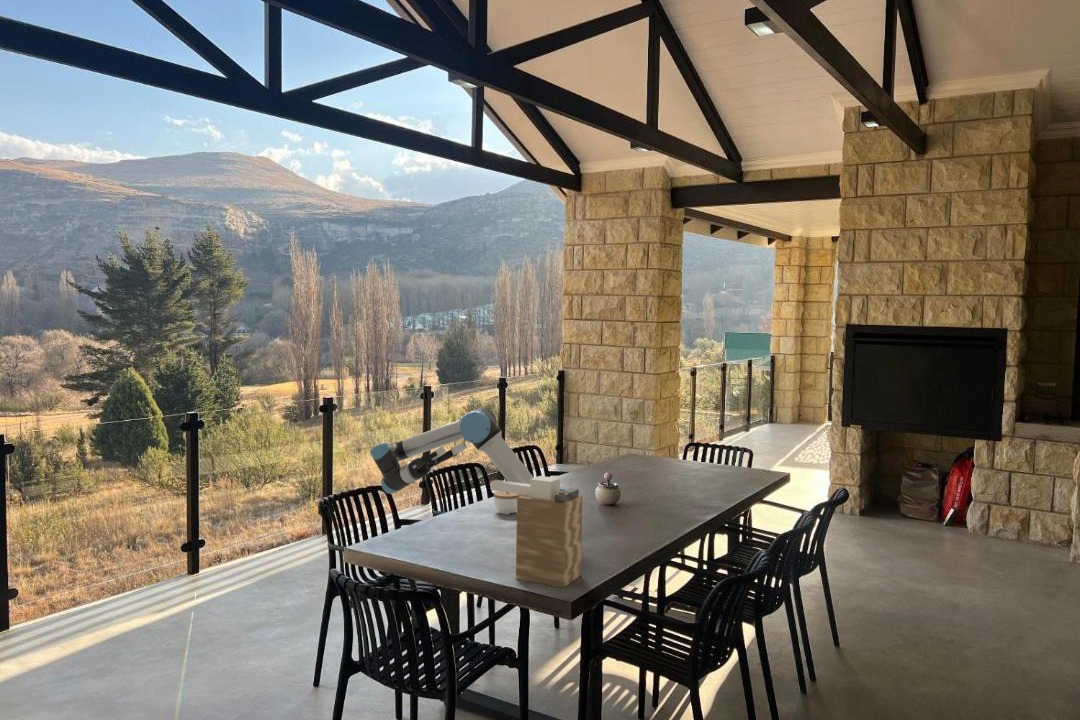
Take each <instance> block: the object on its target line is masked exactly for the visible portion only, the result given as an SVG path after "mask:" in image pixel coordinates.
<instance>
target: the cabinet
mask: <svg viewBox="0 0 1080 720" xmlns="http://www.w3.org/2000/svg"><path fill="white" fill-rule="evenodd" d="M565 490H566V491H561V492H559V493H558V494H556V495H555V498H553V499H544V498H537V497H530V495H522V496H520V497H517V510H516V543H515V544H516V547H515V548H516V551H515V553H516V556H515V557H516V558H515V579H516V578H517V579H518V580H521V579H522V581H527V582H531V581H532V583H536V582H537V584H541V583H542V585H546V584H547V586H551V585H552V586H553V587H556V586H558V587H557V588H561V587H562V589H563V588H565V587H566V586H568V585H569V584H571V583H572V582H574V581H576V580H577V579H578V578H580V577H582V536H583V535H582V533H583V530H582V529H583V528H582V527H583V525H582V524H583V496H582V495H579V488H572V487H571V488H568V489H565ZM579 576H580V577H579ZM576 578H577V579H576ZM570 582H571V583H570Z"/></svg>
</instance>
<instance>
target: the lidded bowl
mask: <svg viewBox="0 0 1080 720" xmlns="http://www.w3.org/2000/svg"><path fill="white" fill-rule="evenodd" d="M517 497H520V496H519V494H517V493H510V492H503V491H495V492H494V493H493V504H494V507H495V509H496V510H497V511H498V512H500V513H502V514H501V515H511V514H510V513H514V512H515V513H516V512H517ZM500 513H499V514H500ZM515 513H514V514H515Z"/></svg>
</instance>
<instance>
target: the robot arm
mask: <svg viewBox="0 0 1080 720" xmlns="http://www.w3.org/2000/svg"><path fill="white" fill-rule="evenodd" d="M502 434H503V433H502V429H501V428H500V426H498V424H497V417H496V415H495V413H494V412H493V411H492V410H491V409H489V408H486V407H477V408H475V409H473V410H470V411H468V412H467V413H466V414H465V415H462V416H460V419H458V420H455V421H453V422H450V423H447V424H444V425H441V426H438V427H435V428H433V429H430V430H428V431H425V432H422V433H418V434H416V435H413V436H411V437H409V438H406V439H402V440H400V441H397V442H393V443H391V444H390V445H389V444H388V442H386V441H383V442H381V443H379V444H377V445H375V446H374V447H372V448H371V449H370V450H369V454H370V456H371V457H372V460H373V461H374V463H375V464H376V466H377V468H378V469H379V471H380V473H381V474H382V479H381V481H380V484H381V488H382V490H383V492H385V493H386V494H389V495H391V494H392V495H393V494H395V493H397V492H400V491H402V490H403V489H404V488H406V487H408V486H410V485H411V484H412V485H415V483H416V481H419V480H420V479H422V478H423V477H427V475H428V473H429V469H431V468H433V467H434V466H435V467H436V466H438V465H440V464H441V463H443V462H445V461H447V460H449V459H451V458H454V457H457V455H458V454H459V453H461V452H463V451H464V450H466V449H468V447H467V444H466V442H468V443H471V444H472V445H473V446H474V447H475V449H476V450H477V451H479V452H483V453H485V455H486V457H488V458H489V460H490V461H491V462H492V463H493V464H494V466H495V467H496V468H497V469H498V471H499V472H500V473H501V475H502V476H503V478H505V481H509V482H516V483H524V484H530V479H532V478H535V477H534V476H533V474H532V473H531V472H530V471H529V470H528V468H527V467H526V466H525V464H524V463H523V462H522V460H521V459H520V458H519V456H517V455H516V453H515V452H514V451H513V450H512V448H511V447H510V446H509V444H508V443H507V442H506V441H505V440H504V438H503V437H502ZM460 440H466V442H465V441H462V442H460V443H458V444H457V445H455V446H453V447H452V446H451V447H450V449H449V450H446V449H445V447H444V446H447V445H448V444H451V443H455V442H457V441H460ZM432 450H433V451H432ZM429 451H432V452H430V453H428V454H425V455H421V457H416V458H414V459H412V460H411V461H409V462H407V463H405V464H404V465H402V466H401V465H400V463H399V462H401V461H404V460H407V459H409V458H412V457H415V456H417V455H420V454H423V453H426V452H429ZM566 490H567V489H565V488H563V487H560V492H561V491H566ZM522 495H524V494H519V496H522Z"/></svg>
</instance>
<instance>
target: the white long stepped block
mask: <svg viewBox="0 0 1080 720" xmlns="http://www.w3.org/2000/svg"><path fill="white" fill-rule="evenodd" d="M560 488H561V478H559V477H551V476H542V475H539V476H535V477H534V478H532V479H530V484H524V483H516V482H509V481H507V480H499V479H494V480H492V481H490V490H491V491H495V492H497V491H503V492H510V493H517V494H524V495H530V497H537V498H544V499H553V498H555V495H556V494H558V493H559V492H560Z"/></svg>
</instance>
